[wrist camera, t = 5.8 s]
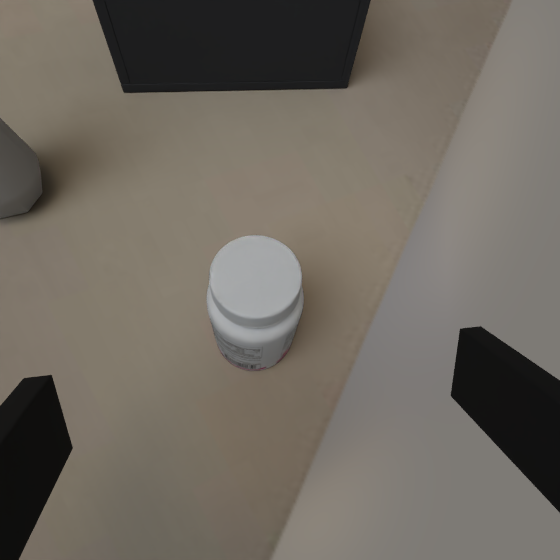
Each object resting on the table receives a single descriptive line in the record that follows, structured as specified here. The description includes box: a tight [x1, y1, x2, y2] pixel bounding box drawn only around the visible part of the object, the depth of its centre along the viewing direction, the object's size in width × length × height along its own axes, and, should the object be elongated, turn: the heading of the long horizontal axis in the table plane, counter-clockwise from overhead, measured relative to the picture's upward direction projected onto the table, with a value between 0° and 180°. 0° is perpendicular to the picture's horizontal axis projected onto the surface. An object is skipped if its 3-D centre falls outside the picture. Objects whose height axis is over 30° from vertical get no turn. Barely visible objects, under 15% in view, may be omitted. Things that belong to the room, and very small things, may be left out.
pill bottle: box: [207, 235, 304, 371], centre depth 20 cm, size 5×5×8 cm
